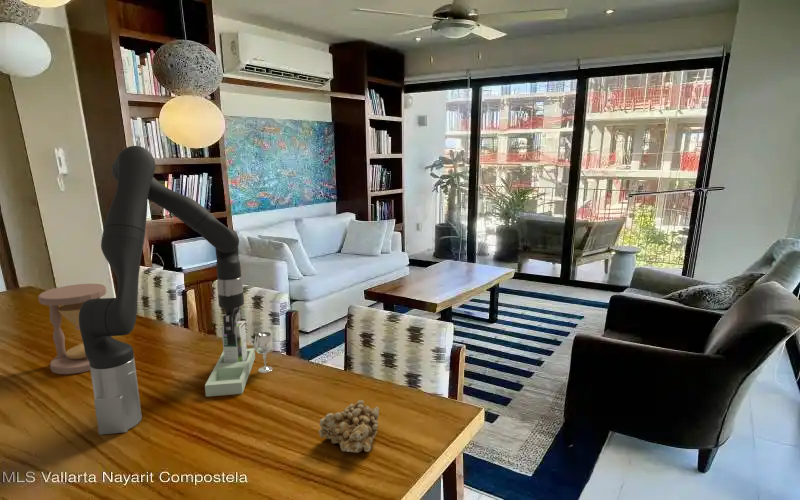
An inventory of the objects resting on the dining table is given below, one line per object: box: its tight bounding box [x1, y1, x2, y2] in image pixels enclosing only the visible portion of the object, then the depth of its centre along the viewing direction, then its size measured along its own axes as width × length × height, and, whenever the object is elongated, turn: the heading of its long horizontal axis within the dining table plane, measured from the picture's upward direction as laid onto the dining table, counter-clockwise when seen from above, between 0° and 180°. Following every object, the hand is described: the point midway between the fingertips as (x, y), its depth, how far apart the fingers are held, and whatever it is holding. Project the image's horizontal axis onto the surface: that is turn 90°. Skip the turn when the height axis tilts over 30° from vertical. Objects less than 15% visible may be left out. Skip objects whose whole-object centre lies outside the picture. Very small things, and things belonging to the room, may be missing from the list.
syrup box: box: [221, 320, 248, 363], centre depth 140 cm, size 6×6×14 cm
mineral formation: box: [318, 399, 380, 454], centre depth 104 cm, size 8×13×15 cm
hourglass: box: [37, 283, 107, 375], centre depth 142 cm, size 18×18×25 cm
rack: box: [204, 347, 256, 397], centre depth 135 cm, size 24×10×4 cm, turn 10°
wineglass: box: [253, 331, 274, 374], centre depth 138 cm, size 6×6×12 cm
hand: (234, 339), depth 140 cm, fingers open, 8 cm apart
